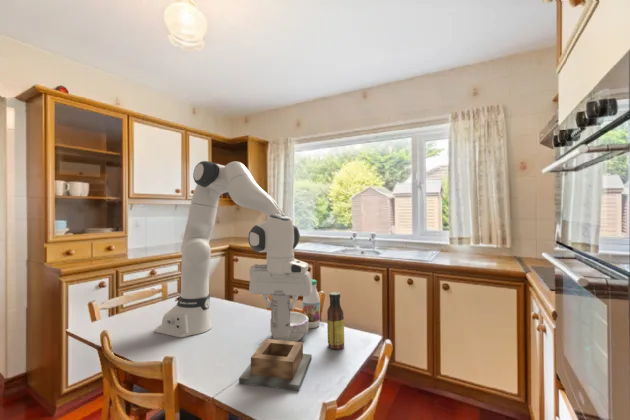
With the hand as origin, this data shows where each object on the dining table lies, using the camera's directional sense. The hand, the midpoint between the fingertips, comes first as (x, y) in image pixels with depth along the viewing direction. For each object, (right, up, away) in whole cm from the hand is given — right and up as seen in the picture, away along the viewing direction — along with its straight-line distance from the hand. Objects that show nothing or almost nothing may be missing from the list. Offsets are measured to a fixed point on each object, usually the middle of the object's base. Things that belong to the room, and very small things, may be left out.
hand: (280, 308), depth 92 cm
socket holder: (-1, -19, -1) cm, 19 cm away
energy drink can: (0, -9, 0) cm, 9 cm away
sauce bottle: (+19, -20, +16) cm, 32 cm away
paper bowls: (+1, -20, +23) cm, 31 cm away
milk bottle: (+9, -20, +36) cm, 42 cm away
